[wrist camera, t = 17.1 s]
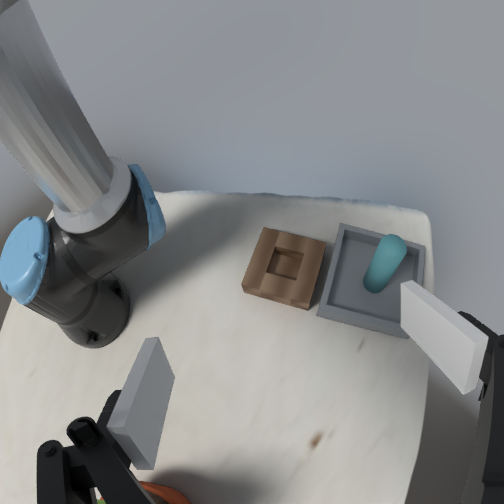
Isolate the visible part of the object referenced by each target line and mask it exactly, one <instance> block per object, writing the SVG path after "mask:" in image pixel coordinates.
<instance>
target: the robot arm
mask: <svg viewBox="0 0 504 504" xmlns="http://www.w3.org/2000/svg"><path fill="white" fill-rule="evenodd" d="M0 140H1V142H2V143H3V144H4V146H5V147H6V148H7V149H8V150H9V151H10V153H11V154H12V155H13V157H14V158H15V159H16V160H17V161H18V163H19V164H20V165H21V166H22V168H23V169H24V170H25V171H26V172H27V173H28V175H29V176H30V177H31V178H32V179H33V180H34V181H35V182H36V184H37V185H38V186H39V187H40V188H41V189H42V190H43V191H44V193H45V194H46V195H47V196H48V197H49V198H50V199H51V200H52V201H53V202H54V208H53V211H54V217H52V218H51V219H50V220H48V221H47V222H46V221H45V220H44V219H43V218H40V217H37V216H34V217H32V216H31V217H28V218H26V219H24V220H23V221H21V222H20V223H19V224H18V225H17V226H16V227H15V229H14V230H13V231H12V233H11V234H10V236H9V237H8V239H7V241H6V243H5V245H4V249H3V251H2V254H1V258H0V281H1V284H2V286H3V288H4V290H5V291H6V292H7V293H8V294H9V295H11V296H12V297H13V298H15V299H16V300H17V301H18V302H19V303H20V304H23V305H24V306H26V307H28V308H30V309H31V310H33V311H35V312H37V313H39V314H41V315H42V316H44V317H46V318H48V319H50V320H52V321H54V322H56V323H57V324H58V325H59V326H60V328H61V329H62V330H63V331H64V333H65V334H66V335H67V336H68V338H69V339H71V340H72V341H73V342H75V343H76V344H79V345H81V346H83V347H86V348H100V347H103V346H105V345H107V344H109V343H110V342H112V341H113V340H114V339H115V338H116V337H117V336H118V335H119V334H120V332H121V331H122V329H123V328H124V326H125V324H126V321H127V318H128V314H129V307H130V303H129V295H128V292H127V289H126V287H125V286H124V284H123V283H122V282H121V281H120V280H119V279H118V278H117V277H116V276H115V275H114V274H112V273H111V272H112V271H113V270H115V269H116V268H118V267H120V266H121V265H123V264H124V263H126V262H127V261H129V260H131V259H132V258H134V257H135V256H137V255H139V254H140V253H142V252H143V251H146V250H148V249H149V248H150V247H151V245H153V244H154V243H155V242H157V241H158V240H160V239H161V238H162V237H163V236H164V234H165V231H166V224H165V219H164V216H163V213H162V211H161V208H160V206H159V203H158V201H157V200H156V198H155V195H154V192H153V190H152V188H151V185H150V183H149V182H148V180H147V178H146V176H145V174H144V172H143V171H142V169H141V168H140V167H139V165H137V164H131V165H126V164H125V163H124V162H123V161H122V160H121V159H119V158H116V157H110V156H107V154H106V153H105V151H104V149H103V147H102V146H101V144H100V142H99V140H98V139H97V137H96V135H95V134H94V132H93V130H92V128H91V127H90V125H89V123H88V121H87V119H86V118H85V116H84V114H83V112H82V110H81V109H80V107H79V105H78V103H77V101H76V99H75V98H74V96H73V94H72V92H71V90H70V88H69V86H68V84H67V83H66V80H65V79H64V77H63V74H62V73H61V71H60V69H59V67H58V65H57V63H56V61H55V59H54V57H53V55H52V52H51V50H50V48H49V46H48V44H47V42H46V40H45V38H44V36H43V33H42V31H41V29H40V27H39V25H38V23H37V20H36V18H35V16H34V13H33V11H32V9H31V7H30V4H29V2H28V0H0ZM401 328H402V329H403V330H404V331H405V332H406V333H407V334H408V335H409V336H410V337H411V338H412V339H413V340H414V341H415V342H416V343H417V344H418V346H419V347H420V348H421V349H422V350H423V351H424V352H425V353H426V354H427V355H428V356H429V357H430V358H431V360H432V361H433V362H434V363H435V364H436V365H437V366H438V367H439V368H440V369H441V371H442V372H443V373H444V374H445V375H446V376H447V377H448V378H449V379H450V380H451V382H452V383H453V384H454V385H455V386H456V387H457V388H458V389H459V390H460V392H461V393H462V394H463V395H464V394H466V393H468V392H470V391H472V390H474V389H476V387H477V384H478V380H479V378H480V379H481V380H482V381H483V382H484V384H483V387H482V390H481V393H480V397H479V401H480V400H481V405H480V413H479V420H478V427H477V433H476V439H475V445H474V450H473V455H472V460H471V464H470V468H469V473H468V477H467V481H466V484H465V488H464V492H463V495H462V499H461V502H460V504H504V335H500V336H498V335H497V334H496V333H494V332H493V331H492V330H490V329H489V328H488V327H486V326H485V325H484V324H481V322H480V321H478V320H476V318H474V317H473V316H472V315H470V314H468V313H465V312H462V311H460V312H458V313H457V312H456V311H454V310H453V309H451V308H450V307H449V306H448V305H446V304H445V303H444V302H442V301H441V300H439V299H438V298H437V297H435V296H434V295H433V294H431V293H430V292H428V291H427V290H426V289H424V288H423V287H421V286H420V285H419V284H417V283H416V282H414V281H413V280H410V281H407V282H404V283H401ZM174 379H175V377H174V374H173V372H172V370H171V367H170V365H169V362H168V360H167V357H166V355H165V352H164V350H163V347H162V345H161V342H160V339H159V337H154V338H147V339H145V341H144V343H143V345H142V347H141V349H140V351H139V354H138V356H137V358H136V360H135V362H134V364H133V367H132V369H131V371H130V373H129V375H128V378H127V380H126V382H125V384H124V387H123V389H122V390H115V391H114V392H113V393H112V394H111V395H110V396H109V397H108V399H107V402H106V404H105V406H104V408H103V410H102V412H101V414H100V417H99V419H98V421H97V423H95V421H94V420H93V419H92V418H90V417H80V418H77V419H75V420H74V421H72V422H71V423H70V424H69V426H68V428H67V430H66V431H67V435H68V437H69V438H70V439H71V441H72V442H73V443H74V445H73V446H68V447H63V446H62V444H61V443H60V442H59V441H56V440H49V441H47V442H45V443H43V444H42V445H41V446H40V447H39V449H38V452H37V504H98V503H97V499H96V494H95V489H94V487H97V489H98V490H99V492H100V494H101V496H102V498H103V499H104V501H105V503H106V504H156V503H155V502H154V500H153V499H152V498H151V497H150V495H149V494H148V493H147V492H146V490H145V489H144V488H143V487H142V485H141V484H140V483H139V481H138V480H137V479H136V477H135V476H134V474H133V473H132V472H131V471H130V469H129V468H130V464H131V462H132V464H133V465H134V466H135V467H136V469H137V470H154V465H155V461H156V456H157V451H158V447H159V442H160V438H161V433H162V429H163V425H164V420H165V416H166V412H167V408H168V403H169V399H170V395H171V391H172V387H173V383H174Z"/></svg>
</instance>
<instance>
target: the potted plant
mask: <svg viewBox="0 0 504 504" xmlns="http://www.w3.org/2000/svg"><path fill="white" fill-rule="evenodd" d="M139 483H140V484H141V485H142V487H143V488H144V489H145V490H146V492H147V493H148V494H149V495H150V497H151V498H152V499H153V500H154V502H155V503H156V504H191V503H190V502H189V500H188V499H187V498H186V497H185V496H184V495H183V494H181V493H180V492H179V491H177V490H175V489H173V488H170V487H168V486H161V485H155V484H153V483H149V482H144V481H139ZM97 503H98V504H106V503H105V501H104V499H103V498H102V497H101V499H100V500H97Z"/></svg>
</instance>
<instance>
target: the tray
mask: <svg viewBox="0 0 504 504" xmlns="http://www.w3.org/2000/svg"><path fill="white" fill-rule="evenodd" d="M384 236H385V235H384V234H380V233H376V232H373V231H369V230H365V229H361V228H357V227H353V226H350V225H346V224H342V223H340V226H339V231H338V235H337V239H336V243H335V247H334V251H333V255H332V259H331V263H330V267H329V271H328V275H327V279H326V282H325V286H324V290H323V293H322V297H321V301H320V304H319V308H318V311H317V315H316V316H319V317H322V318H326V319H330V320H334V321H337V322H341V323H345V324H349V325H353V326H357V327H361V328H365V329H369V330H373V331H377V332H381V333H385V334H389V335H393V336H397V337H401V338H406V339H408V338H410V336H409V335H408V334H407V333H406V332H405V331H404V330H403V329H402V328H401V283H404V282H407V281H410V280H413V281H414V282H416V283H417V284H419V285H420V286H421V287H422V280H423V269H424V256H425V246H423V245H420V244H416V243H413V242H409V241H406V240H403V241H404V242H405V244H406V247H407V251H406V254H405V256H404V258H403V259H402V261H401V263H400V264H399V266H398V267H397V269H396V271H395V272H394V274H393V275H392V277H391V278H390V280H389V281H388V283H387V284H386V286H385V288H384V289H383V290H382V291H381V292H379V293H371V292H369V291H367V290H366V289H365V287H364V285H363V278H364V276H365V274H366V271H367V269H368V267H369V265H370V263H371V261H372V258H373V256H374V254H375V252H376V249H377V247H378V245H379V243H380V240H381V239H382V238H383V237H384Z"/></svg>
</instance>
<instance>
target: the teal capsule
mask: <svg viewBox="0 0 504 504" xmlns="http://www.w3.org/2000/svg"><path fill="white" fill-rule="evenodd" d="M406 251H407V247H406V244H405V242H404V241H403V239H401V238H400V237H399V236H397V235H393V234H389V235H385V236H384V237H383V238H382V239H381V240H380V243H379V245H378V247H377V249H376V252H375V254H374V256H373V258H372V261H371V263H370V265H369V267H368V269H367V271H366V274H365V276H364V278H363V285H364V287H365V289H366V290H367V291H369V292H371V293H379V292H381V291H382V290H383V289H384V288H385V286H386V284H387V283H388V281H389V280H390V278H391V277H392V275H393V274H394V272H395V271H396V269H397V267H398V266H399V264H400V263H401V261H402V259H403V258H404V256H405V254H406Z"/></svg>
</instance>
